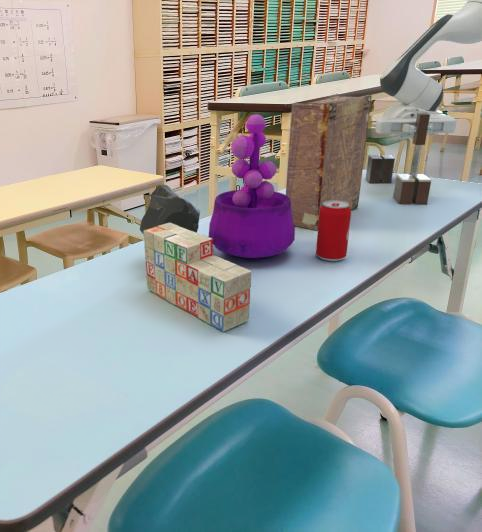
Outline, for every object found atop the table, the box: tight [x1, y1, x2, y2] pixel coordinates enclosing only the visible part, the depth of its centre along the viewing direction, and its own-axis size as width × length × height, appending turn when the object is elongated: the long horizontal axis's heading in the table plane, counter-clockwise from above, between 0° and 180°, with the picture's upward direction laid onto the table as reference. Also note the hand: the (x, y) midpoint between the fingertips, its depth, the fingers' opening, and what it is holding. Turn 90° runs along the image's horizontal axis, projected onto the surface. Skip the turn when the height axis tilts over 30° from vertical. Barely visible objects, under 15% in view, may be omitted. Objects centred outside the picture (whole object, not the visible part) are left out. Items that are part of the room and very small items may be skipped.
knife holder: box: [365, 154, 396, 184], centre depth 169 cm, size 7×6×8 cm
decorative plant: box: [208, 114, 296, 259], centre depth 111 cm, size 19×18×30 cm
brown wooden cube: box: [392, 173, 432, 205], centre depth 147 cm, size 7×7×7 cm
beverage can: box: [315, 200, 352, 262], centre depth 110 cm, size 6×6×12 cm
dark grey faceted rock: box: [139, 184, 201, 236], centre depth 107 cm, size 14×15×18 cm
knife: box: [409, 113, 430, 179], centre depth 143 cm, size 2×5×17 cm, turn 169°
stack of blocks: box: [143, 223, 252, 333], centre depth 91 cm, size 21×6×12 cm, turn 35°
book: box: [285, 93, 373, 231], centre depth 134 cm, size 25×9×30 cm, turn 137°
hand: (422, 129), depth 140 cm, fingers closed on knife, 2 cm apart
